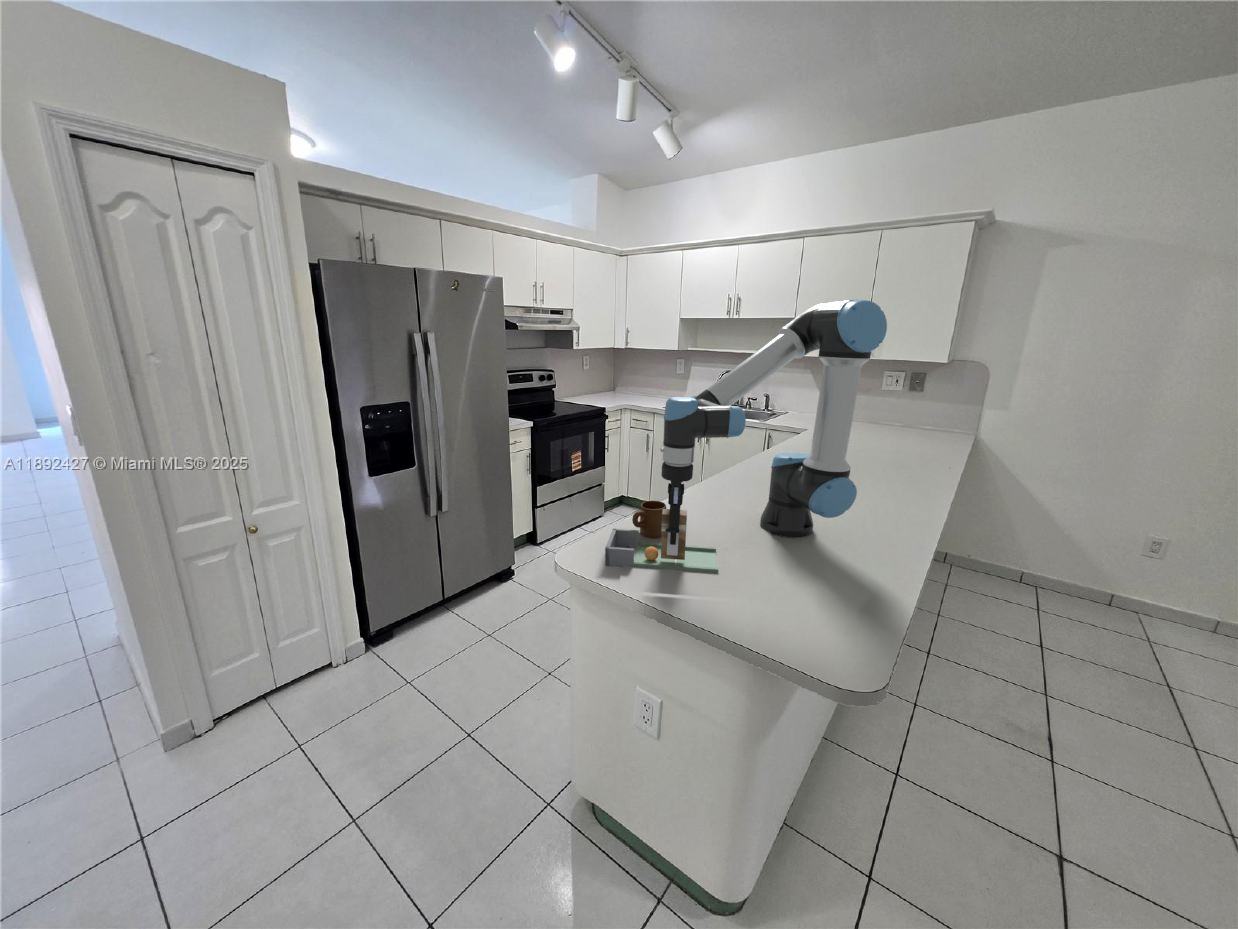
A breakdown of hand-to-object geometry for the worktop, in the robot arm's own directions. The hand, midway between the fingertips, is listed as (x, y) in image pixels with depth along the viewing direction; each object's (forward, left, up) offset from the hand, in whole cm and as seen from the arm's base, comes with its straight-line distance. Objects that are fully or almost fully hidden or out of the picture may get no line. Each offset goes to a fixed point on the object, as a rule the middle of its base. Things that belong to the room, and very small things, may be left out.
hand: (672, 550), depth 118 cm
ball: (+5, 0, -1) cm, 5 cm away
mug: (+8, -15, -4) cm, 17 cm away
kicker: (0, 0, -2) cm, 2 cm away
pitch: (+2, -2, -4) cm, 5 cm away
